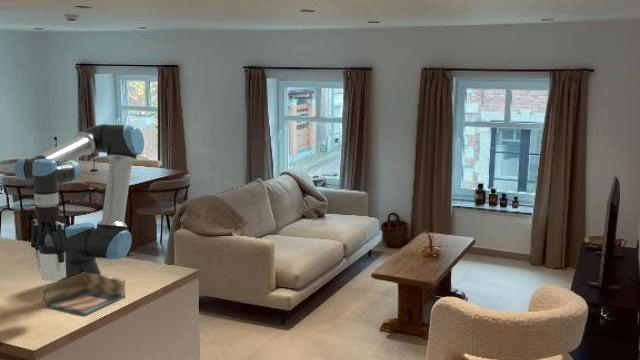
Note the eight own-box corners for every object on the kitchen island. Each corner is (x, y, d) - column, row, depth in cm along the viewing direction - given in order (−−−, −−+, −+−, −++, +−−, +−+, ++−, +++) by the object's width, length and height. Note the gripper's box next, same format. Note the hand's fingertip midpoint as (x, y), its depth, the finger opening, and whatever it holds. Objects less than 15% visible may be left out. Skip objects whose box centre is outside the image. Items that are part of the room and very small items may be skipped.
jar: (59, 271, 225) (57, 238, 223) (72, 276, 220) (70, 242, 218) (35, 277, 218) (32, 244, 216) (47, 282, 213) (45, 248, 211)
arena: (44, 306, 230) (42, 287, 229) (84, 289, 248) (83, 272, 247) (86, 315, 222) (85, 296, 221) (125, 297, 240) (124, 279, 239)
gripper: (15, 203, 215) (20, 268, 219) (60, 210, 207) (64, 277, 211) (33, 199, 221) (38, 262, 226) (78, 205, 213) (81, 270, 218)
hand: (50, 269), depth 218 cm, fingers closed on jar, 7 cm apart
